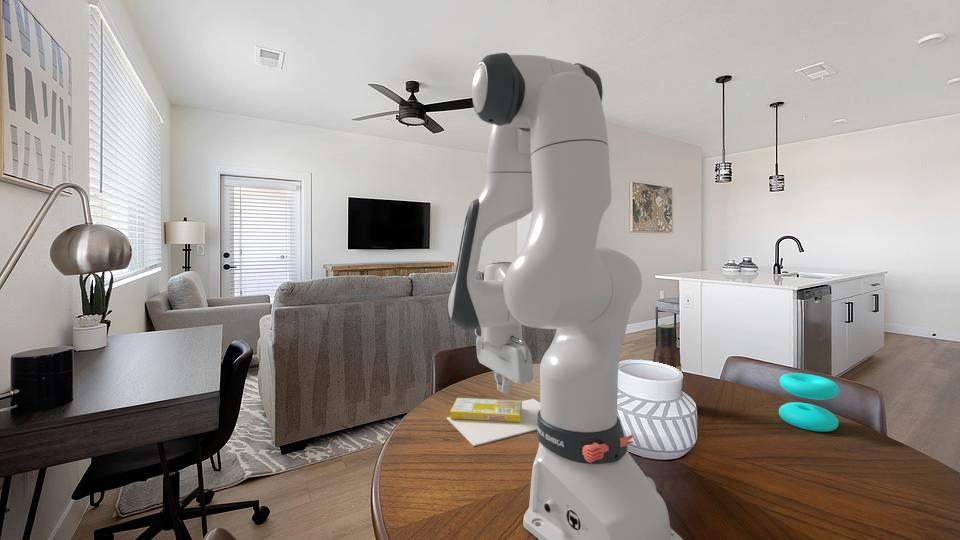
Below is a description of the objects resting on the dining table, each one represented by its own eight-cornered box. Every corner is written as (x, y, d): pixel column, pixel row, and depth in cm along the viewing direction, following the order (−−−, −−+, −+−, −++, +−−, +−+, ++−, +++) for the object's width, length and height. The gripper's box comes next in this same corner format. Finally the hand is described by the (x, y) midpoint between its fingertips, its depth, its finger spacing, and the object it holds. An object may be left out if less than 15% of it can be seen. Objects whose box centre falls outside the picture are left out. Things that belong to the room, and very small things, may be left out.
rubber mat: (569, 421, 88) (569, 420, 88) (473, 446, 77) (473, 445, 77) (533, 399, 101) (533, 398, 101) (446, 418, 90) (446, 417, 90)
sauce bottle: (676, 400, 99) (676, 323, 98) (686, 410, 93) (687, 328, 92) (649, 400, 100) (649, 323, 99) (657, 410, 93) (658, 327, 92)
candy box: (456, 405, 97) (449, 419, 89) (456, 397, 97) (449, 410, 89) (522, 408, 95) (520, 423, 87) (522, 400, 95) (520, 413, 86)
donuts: (823, 373, 88) (851, 388, 78) (822, 416, 89) (849, 436, 79) (771, 369, 91) (792, 384, 81) (770, 411, 91) (790, 430, 82)
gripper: (540, 339, 82) (540, 404, 82) (493, 324, 100) (494, 377, 101) (514, 343, 79) (515, 410, 80) (471, 326, 97) (472, 381, 98)
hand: (503, 391), depth 90 cm, fingers closed
